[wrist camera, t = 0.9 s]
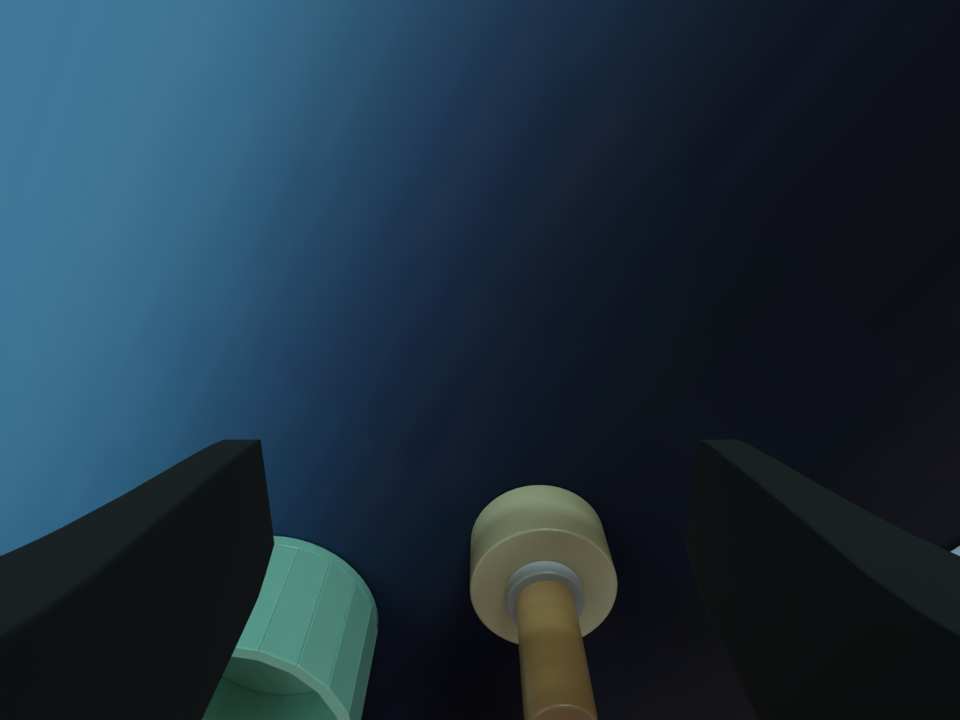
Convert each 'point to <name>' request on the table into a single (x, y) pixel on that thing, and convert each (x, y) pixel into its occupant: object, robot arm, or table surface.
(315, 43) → the table surface
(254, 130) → the table surface
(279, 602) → the bucket
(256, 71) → the table surface
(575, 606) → the rubber stamp
